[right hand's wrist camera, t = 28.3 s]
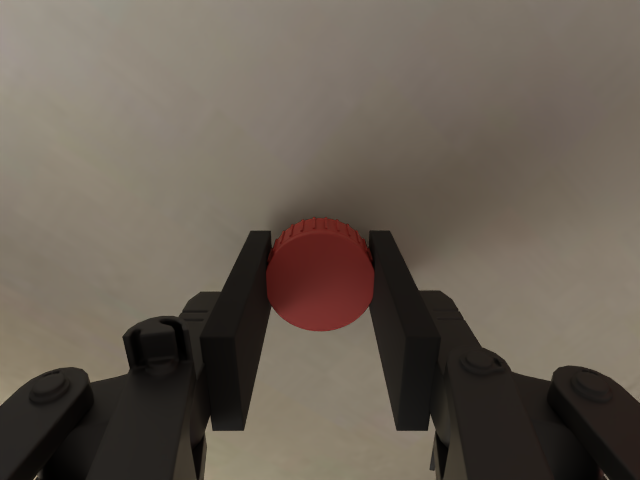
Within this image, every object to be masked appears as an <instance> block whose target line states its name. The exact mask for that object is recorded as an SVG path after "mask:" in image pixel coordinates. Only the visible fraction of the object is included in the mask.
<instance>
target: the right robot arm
mask: <svg viewBox="0 0 640 480" xmlns="http://www.w3.org/2000/svg"><path fill="white" fill-rule="evenodd" d="M271 248H272V245H271V231H250V233H249V235H248V237H247V239H246V242H245V244H244V246H243V248H242V250H241V252H240V254H239V256H238V258H237V260H236V262H235V264H234V266H233V269H232V271H231V273H230V275H229V277H228V279H227V281H226V283H225V285H224V287H223V289H222V291H221V292H200V293H198V294H197V295H196V296H194V297H193V298H192V299H190V300H189V301H188V302H187V304H186V306H185V307H184V309H183V311H182V313H181V314H180V315H179V317H175V316H159V317H154V318H150V319H147V320H144V321H142V322H139V323H137V324H136V325H134V326H133V327H131V328H130V329H128V331H127V332H126V333H125V334H124V336H123V341H124V345H125V350H126V354H127V358H128V362H129V367H130V370H129V372H128V374H125V375H122V376H118V377H114V378H110V379H105V380H101V381H96V382H92V383H90V381H89V377H88V374H87V373H86V372H85V371H84V370H83V369H79V368H74V367H68V368H59V369H55V370H52V371H48V372H45V373H43V374H41V375H39V376H37V377H35V378H33V379H31V380H30V381H28V382H27V383H26V384H24V385H23V386H22V387H20V388H19V389H18V390H17V391H16V392H15V393H14V394H13V395H12V396H11V397H9V398H8V399H7V400H6V401H5V402H4V403H3V404H2V405H1V406H0V480H33V479H34V478H35V477H36V475H37V476H38V477H37V478H36V479H35V480H204V471H205V461H206V451H207V444H206V438H205V429H206V426H207V423H208V420H209V417H210V416H211V423H212V430H213V431H244V428H245V423H246V419H247V414H248V410H249V405H250V400H251V396H252V391H253V387H254V382H255V378H256V373H257V369H258V364H259V360H260V355H261V351H262V346H263V342H264V337H265V333H266V328H267V324H268V319H269V315H270V310H271V306H272V305H271V304H270V302H269V300H268V297H267V282H266V270H267V266H268V262H267V260H268V257H269V254H270V250H271ZM369 249H370V252H371V255H372V259H373V262H372V264H373V268H374V289H373V298H372V301H371V303H370V305H369V308H370V313H371V317H372V322H373V326H374V331H375V335H376V340H377V344H378V349H379V353H380V358H381V362H382V367H383V371H384V376H385V380H386V385H387V389H388V394H389V398H390V403H391V407H392V412H393V417H394V421H395V426H396V430H397V431H428V426H429V419H430V414H431V417H432V420H433V423H434V426H435V429H436V431H435V438H434V444H433V451H432V457H431V464H430V470H433V471H435V470H436V480H607V479H606V478H605V476H604V473H605V474H606V476H607V477H608V478H609V480H640V403H639V402H638V401H637V400H636V399H635V398H634V397H633V396H631V395H630V394H629V393H628V392H627V391H626V390H625V389H624V388H623V387H622V386H620V385H619V384H618V383H616V382H615V381H614V380H612V379H611V378H609V377H607V376H605V375H603V374H601V373H599V372H597V371H594V370H591V369H588V368H584V367H579V366H564V367H559V368H558V369H557V370H556V371H555V372H553V376H552V379H551V381H547V380H542V379H538V378H533V377H529V376H524V375H521V374H517V373H514V372H512V371H511V369H510V367H509V366H508V364H507V363H506V361H505V360H504V359H502V358H501V357H500V356H498V355H497V354H496V353H494V352H492V351H489V350H487V349H485V348H482V347H481V345H480V344H479V342H478V340H477V339H476V337H475V336H474V334H473V332H472V331H471V329H470V328H469V326H468V324H467V323H466V321H465V320H464V318H463V316H462V315H461V313H460V312H458V308H457V307H456V305H455V303H454V302H453V300H452V299H451V298H449V297H448V296H447V295H445V294H444V293H442V292H441V291H419V290H418V288H417V286H416V284H415V282H414V280H413V278H412V276H411V274H410V272H409V270H408V268H407V265H406V263H405V261H404V259H403V257H402V255H401V253H400V251H399V249H398V247H397V245H396V243H395V241H394V238H393V236H392V234H391V232H390V231H370V234H369Z"/></svg>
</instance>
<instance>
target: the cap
mask: <svg viewBox="0 0 640 480" xmlns="http://www.w3.org/2000/svg"><path fill="white" fill-rule="evenodd" d="M267 262H268V266H267V270H266V282H267V297H268V300H269V302H270V304H271V305H272V307H273V308H274V310H275V311H276V312H277V313H278V314H279V315H280V316H281V317H282V318H283V319H284V320H286V321H287V322H289V323H290V324H292V325H294V326H297V327H299V328H302V329H306V330H311V331H330V330H335V329H338V328H341V327H344V326H346V325H348V324H350V323H352V322H353V321H355V320H356V319H357V318H359V317H360V316H361V315H362V314H363V313H364V312H365V310H366V309H367V308H368V306H369V305H370V303H371V301H372V298H373V289H374V268H373V264H372V262H373V259H372V255H371V252H370V249H369V248H367V245H366V242H365V239H364V238H363V239H362V238H361V236H360V235H359V234H358V231H357V230H356V231H355V230H353V229H352V228H351V227H349V224H344V223H342V222H339V220H337V219H336V220H333V219H327V217H325V218H315V217H313V219H308V220H304V219H303V220H302V221H301V222H299V223H297V224H295V225H293V224H292V225H291V227H290V228H288V229H287V230H286V231H283V232H282V235H281V236H280V237H279V238H278V239H276V240H275V243H274V247H273V248H271V250H270V254H269V257H268V260H267Z"/></svg>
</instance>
